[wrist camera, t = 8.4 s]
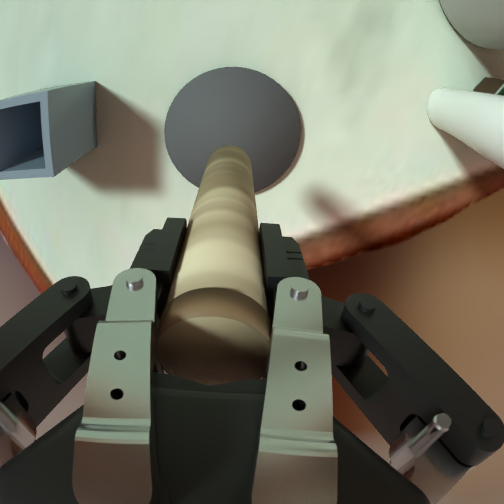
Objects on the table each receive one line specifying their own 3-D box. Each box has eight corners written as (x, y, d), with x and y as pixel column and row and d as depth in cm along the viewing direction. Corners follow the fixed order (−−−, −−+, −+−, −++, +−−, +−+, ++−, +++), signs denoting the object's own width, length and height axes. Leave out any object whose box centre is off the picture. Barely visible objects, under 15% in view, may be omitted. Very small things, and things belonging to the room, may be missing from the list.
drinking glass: (416, 82, 29) (506, 104, 16) (460, 80, 28) (550, 105, 15) (422, 137, 32) (504, 185, 19) (464, 132, 31) (547, 175, 19)
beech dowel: (207, 143, 20) (147, 310, 7) (253, 146, 21) (282, 317, 7) (205, 186, 22) (161, 385, 9) (249, 188, 22) (266, 391, 9)
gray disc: (168, 65, 28) (166, 65, 27) (306, 74, 29) (308, 74, 28) (166, 190, 35) (164, 192, 34) (289, 197, 36) (290, 200, 35)
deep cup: (40, 89, 27) (-14, 104, 18) (95, 81, 28) (47, 90, 19) (44, 149, 31) (-5, 180, 23) (97, 146, 32) (53, 176, 23)
